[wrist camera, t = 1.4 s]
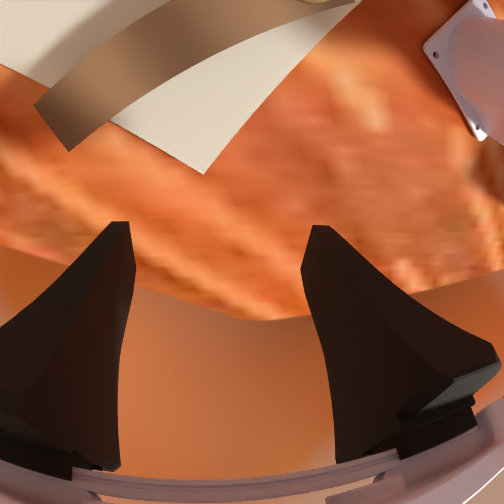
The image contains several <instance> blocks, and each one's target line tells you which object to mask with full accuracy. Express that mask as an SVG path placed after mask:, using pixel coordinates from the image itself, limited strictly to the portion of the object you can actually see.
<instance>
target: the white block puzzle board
mask: <svg viewBox="0 0 504 504" xmlns="http://www.w3.org/2000/svg"><path fill="white" fill-rule="evenodd" d="M169 1H171V0H0V64H2V65H4V66H6V67H9V68H11V69H13V70H15V71H17V72H19V73H21V74H23V75H25V76H27V77H29V78H31V79H33V80H35V81H37V82H39V83H41V84H43V85H45V86H47V87H48V88H52V87H53V86H54V85H55V84H56V83H57V82H58V81H59V80H60V79H61V78H62V77H63V76H65V75H66V74H67V73H68V72H69V71H70V70H71V69H73V68H74V67H75V66H76V65H77V64H78V63H80V62H81V61H82V60H83V59H84V58H86V57H87V56H88V55H89V54H91V53H92V52H93V51H95V50H96V49H97V48H98V47H100V46H101V45H102V44H104V43H105V42H106V41H108V40H109V39H111V38H112V37H113V36H115V35H116V34H118V33H119V32H120V31H122V30H123V29H125V28H126V27H128V26H129V25H131V24H132V23H134V22H135V21H137V20H139V19H140V18H142V17H143V16H145V15H147V14H148V13H150V12H151V11H153V10H155V9H157V8H158V7H160V6H162V5H163V4H165V3H167V2H169ZM361 1H362V0H355V3H351V4H347V5H343V6H339V7H336V8H332V9H329V10H326V11H322V12H319V13H316V14H313V15H310V16H307V17H304V18H301V19H298V20H295V21H292V22H289V23H287V24H284V25H281V26H279V27H276V28H273V29H271V30H268V31H266V32H264V33H261V34H259V35H256V36H254V37H252V38H249V39H247V40H245V41H243V42H240V43H238V44H236V45H234V46H232V47H230V48H228V49H225V50H223V51H221V52H219V53H217V54H215V55H213V56H211V57H209V58H207V59H206V60H204V61H202V62H200V63H198V64H196V65H194V66H192V67H191V68H189V69H187V70H185V71H183V72H182V73H180V74H178V75H177V76H175V77H173V78H171V79H170V80H168V81H166V82H165V83H163V84H161V85H160V86H158V87H157V88H155V89H153V90H152V91H150V92H149V93H147V94H146V95H144V96H143V97H141V98H140V99H138V100H137V101H135V102H134V103H132V104H131V105H129V106H128V107H126V108H125V109H123V110H122V111H121V112H119V113H118V114H116V115H115V116H114V117H112V118H111V119H110V121H112V122H114V123H116V124H117V125H119V126H121V127H123V128H124V129H126V130H128V131H130V132H132V133H133V134H135V135H137V136H139V137H140V138H142V139H144V140H146V141H147V142H149V143H151V144H153V145H154V146H156V147H158V148H159V149H161V150H163V151H165V152H166V153H168V154H170V155H171V156H173V157H175V158H177V159H178V160H180V161H182V162H183V163H185V164H187V165H188V166H190V167H192V168H193V169H195V170H197V171H198V172H200V173H202V174H204V173H205V171H206V170H207V169H208V168H209V166H210V165H211V164H212V162H213V161H214V160H215V159H216V157H217V156H218V155H219V154H220V152H221V151H222V150H223V149H224V147H225V146H226V145H227V144H228V143H229V141H230V140H231V139H232V138H233V136H234V135H235V134H236V133H237V132H238V130H239V129H240V128H241V127H242V126H243V124H244V123H245V122H246V121H247V120H248V118H249V117H250V116H251V115H252V114H253V113H254V111H255V110H256V109H257V108H258V107H259V106H260V105H261V103H262V102H263V101H264V100H265V99H266V98H267V97H268V95H269V94H270V93H271V92H272V91H273V90H274V89H275V88H276V87H277V85H278V84H279V83H280V82H281V81H282V80H283V79H284V78H285V77H286V76H287V75H288V73H289V72H290V71H291V70H292V69H293V68H294V67H295V66H296V65H297V64H298V63H299V62H300V61H301V60H302V59H303V58H304V57H305V56H306V55H307V53H308V52H309V51H310V50H311V49H312V48H313V47H314V46H315V45H316V44H317V43H318V42H319V41H320V40H321V39H322V38H323V37H324V36H325V35H326V34H327V33H328V32H329V31H330V30H331V29H332V28H333V27H335V26H336V25H337V24H338V23H339V22H340V21H341V20H342V19H343V18H344V17H345V16H346V15H347V14H348V13H349V12H350V11H351V10H353V9H354V8H355V7H356V6H357V5H358V4H359V3H360V2H361Z"/></svg>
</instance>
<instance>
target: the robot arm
mask: <svg viewBox="0 0 504 504" xmlns="http://www.w3.org/2000/svg"><path fill="white" fill-rule="evenodd" d="M483 4H484V7H483ZM423 51H424V53H425V54H426V55H427V57H428V58H429V60H430V61H431V63H432V64H433V65H434V67H435V68H436V70H437V71H438V73H439V74H440V76H441V78H442V79H443V81H444V82H445V84H446V85H447V87H448V89H449V90H450V92H451V94H452V95H453V97H454V99H455V100H456V102H457V104H458V106H459V107H460V109H461V111H462V113H463V114H464V116H465V118H466V120H467V122H468V124H469V126H470V128H471V130H472V132H473V134H474V136H475V138H476V139H477V140H479V141H483V140H484V139H485V138H486V137H487V135H488V136H490V137H491V138H493V139H494V140H496V141H497V142H499V143H500V144H501V145H503V146H504V20H500V19H497V18H496V17H495V15H494V13H493V11H492V9H491V8H490V6H489V4H488V3H487V1H486V0H469V1H468V2H467V3H466V4H465V5H463V6H462V7H461V8H460V9H459V10H458V11H457V12H456V13H455V14H454V15H453V16H452V17H451V18H450V19H449V20H448V21H447V22H446V23H445V24H444V25H443V26H442V27H440V28H439V29H438V30H437V31H436V32H435V33H434V34H433V35H432V36H431V37H430V38H429V39H428V40H427V41H426V42H425V43H424V45H423ZM434 52H435V57H433V53H434ZM476 125H477V126H476ZM300 270H301V275H302V281H303V287H304V292H305V296H306V299H307V302H308V305H309V308H310V311H311V314H312V317H313V321H314V324H315V327H316V330H317V333H318V336H319V339H320V343H321V346H322V349H323V353H324V358H325V363H326V368H327V373H328V380H329V386H330V393H331V400H332V409H333V420H334V434H335V459H336V465H332V466H327V467H322V468H317V469H312V470H307V471H300V472H294V473H287V474H280V475H272V476H263V477H253V478H239V479H219V480H176V479H156V478H143V477H133V476H124V475H116V474H109V473H103V472H96V471H93V470H99V471H103V470H104V471H110V472H114V471H115V470H117V469H118V468H119V467H120V466H121V461H120V450H119V438H118V408H117V407H118V406H117V403H118V374H119V360H120V353H121V346H122V342H123V336H124V332H125V327H126V323H127V318H128V314H129V309H130V305H131V301H132V296H133V290H134V283H135V274H136V263H135V257H134V252H133V246H132V239H131V233H130V226H129V221H113V222H111V223H110V224H109V225H108V226H107V227H106V228H105V229H104V230H103V231H102V232H101V233H100V234H99V235H98V236H97V238H96V239H95V240H94V241H93V242H92V243H91V244H90V245H89V246H88V247H87V248H86V250H85V251H84V252H83V253H82V254H81V255H80V256H79V257H78V258H77V259H76V260H75V261H74V262H73V263H72V264H71V265H70V266H69V267H68V268H67V269H66V271H65V272H64V273H63V274H62V275H61V276H60V277H59V278H58V279H57V280H56V281H55V282H54V283H53V284H52V285H51V286H50V287H48V288H47V289H46V290H45V291H44V292H43V293H42V294H41V295H40V296H39V297H38V298H36V300H34V301H33V302H32V303H31V304H29V305H28V306H27V307H26V308H24V309H23V310H22V311H21V312H19V313H18V314H17V315H16V316H15V317H13V318H12V319H11V320H9V321H8V322H7V323H6V324H4V325H3V326H1V327H0V504H111V503H106V502H103V501H102V500H101V498H100V497H99V496H98V495H97V494H100V495H107V496H112V497H119V498H127V499H135V500H144V501H145V500H146V501H156V502H157V501H158V502H175V503H224V502H242V501H253V500H263V499H272V498H279V497H286V496H292V495H298V494H304V493H309V492H314V491H319V490H324V489H328V488H333V487H337V486H341V485H345V484H348V483H352V482H356V481H359V480H363V479H366V478H370V477H373V476H376V475H377V476H376V477H375V478H374V481H373V483H372V484H369V485H366V486H363V487H359V488H356V489H353V490H349V491H347V492H343V493H340V494H336V495H333V496H329V497H326V499H325V501H326V504H464V503H466V502H467V501H468V500H469V499H470V498H472V497H473V496H474V495H475V494H476V493H478V492H479V491H480V490H481V489H482V488H483V487H485V486H486V485H487V484H488V483H489V482H490V481H491V480H492V479H493V478H494V477H495V476H496V475H497V474H498V473H500V472H501V471H502V470H503V469H504V396H503V397H501V398H500V399H498V400H496V401H494V402H492V403H491V404H489V405H488V406H486V407H485V408H483V409H482V410H480V411H479V412H478V413H476V415H474V414H473V411H472V408H471V406H473V405H474V404H475V400H474V397H473V394H474V393H475V392H477V391H478V390H479V389H480V388H482V387H483V386H484V385H485V384H486V383H487V382H488V381H490V380H491V379H492V378H493V377H494V376H495V375H496V374H497V372H498V371H499V370H500V368H501V365H502V364H501V361H500V359H499V357H498V355H497V353H496V351H495V349H494V347H493V346H492V344H491V343H489V342H487V341H485V340H483V339H481V338H479V337H477V336H475V335H472V334H470V333H468V332H466V331H464V330H462V329H461V328H459V327H457V326H455V325H453V324H451V323H450V322H448V321H446V320H445V319H443V318H441V317H439V316H438V315H436V314H435V313H433V312H432V311H430V310H429V309H427V308H426V307H424V306H423V305H421V304H420V303H418V302H417V301H416V300H414V299H413V298H411V297H410V296H409V295H408V294H406V293H405V292H404V291H402V290H401V289H400V288H398V287H397V286H396V285H395V284H393V283H392V282H391V281H390V280H389V279H388V278H386V277H385V276H384V275H383V274H382V273H381V272H379V271H378V270H377V269H376V268H375V267H374V266H373V265H372V264H371V263H369V262H368V261H367V260H366V259H365V258H364V257H363V256H362V255H361V254H360V253H359V252H358V251H357V250H355V249H354V248H353V247H352V246H351V245H350V244H349V243H348V242H347V241H346V240H345V239H344V238H343V237H342V236H340V235H339V234H338V233H337V232H336V231H335V230H334V229H332V228H331V227H330V226H325V225H313V226H312V229H311V233H310V236H309V240H308V244H307V247H306V251H305V254H304V258H303V261H302V265H301V268H300ZM94 493H95V494H94Z"/></svg>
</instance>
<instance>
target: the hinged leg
mask: <svg viewBox="0 0 504 504" xmlns="http://www.w3.org/2000/svg"><path fill="white" fill-rule="evenodd" d="M351 3H355V0H171V1H169V2H167V3H165V4H163V5H162V6H160V7H158V8H157V9H155V10H153V11H151V12H150V13H148V14H147V15H145V16H143V17H142V18H140V19H139V20H137V21H135V22H134V23H132V24H131V25H129V26H128V27H126V28H125V29H123V30H122V31H120V32H119V33H118V34H116V35H115V36H113V37H112V38H111V39H109V40H108V41H106V42H105V43H104V44H102V45H101V46H100V47H98V48H97V49H96V50H95V51H93V52H92V53H91V54H89V55H88V56H87V57H86V58H84V59H83V60H82V61H81V62H80V63H78V64H77V65H76V66H75V67H74V68H73V69H71V70H70V71H69V72H68V73H67V74H66V75H65V76H63V77H62V78H61V79H60V80H59V81H58V82H57V83H56V84H55V85H54V86H53V87H52V88H50V89H49V90H48V91H47V92H46V93H45V94H44V95H43V96H42V97H41V98H40V99H39V100H38V101H37V102H36V103H35V104H34V106H35V107H36V109H37V110H38V112H39V113H40V114H41V116H42V117H43V119H44V120H45V121H46V123H47V124H48V125H49V127H50V128H51V129H52V131H53V132H54V134H55V135H56V136H57V138H58V139H59V140H60V141H61V143H62V144H63V145H64V147H65V148H66V149H67V151H68V152H69V151H71V150H72V149H73V148H74V147H75V146H76V145H78V144H79V143H80V142H81V141H83V140H84V139H85V138H86V137H87V136H89V135H90V134H91V133H93V132H94V131H95V130H96V129H98V128H99V127H100V126H102V125H103V124H104V123H106V122H107V121H108V120H110V119H111V118H112V117H114V116H115V115H116V114H118V113H119V112H121V111H122V110H123V109H125V108H126V107H128V106H129V105H131V104H132V103H134V102H135V101H137V100H138V99H140V98H141V97H143V96H144V95H146V94H147V93H149V92H150V91H152V90H153V89H155V88H157V87H158V86H160V85H161V84H163V83H165V82H166V81H168V80H170V79H171V78H173V77H175V76H177V75H178V74H180V73H182V72H183V71H185V70H187V69H189V68H191V67H192V66H194V65H196V64H198V63H200V62H202V61H204V60H206V59H207V58H209V57H211V56H213V55H215V54H217V53H219V52H221V51H223V50H225V49H228V48H230V47H232V46H234V45H236V44H238V43H240V42H243V41H245V40H247V39H249V38H252V37H254V36H256V35H259V34H261V33H264V32H266V31H268V30H271V29H273V28H276V27H279V26H281V25H284V24H287V23H289V22H292V21H295V20H298V19H301V18H304V17H307V16H310V15H313V14H316V13H319V12H322V11H326V10H329V9H332V8H336V7H339V6H343V5H347V4H351Z"/></svg>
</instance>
